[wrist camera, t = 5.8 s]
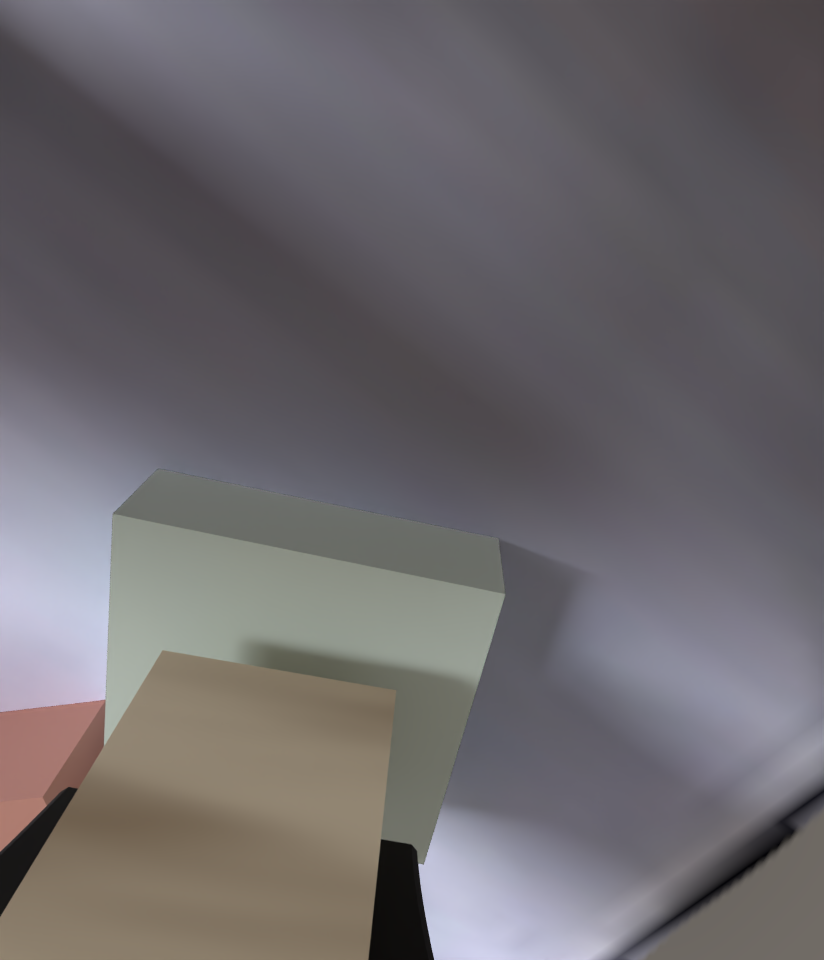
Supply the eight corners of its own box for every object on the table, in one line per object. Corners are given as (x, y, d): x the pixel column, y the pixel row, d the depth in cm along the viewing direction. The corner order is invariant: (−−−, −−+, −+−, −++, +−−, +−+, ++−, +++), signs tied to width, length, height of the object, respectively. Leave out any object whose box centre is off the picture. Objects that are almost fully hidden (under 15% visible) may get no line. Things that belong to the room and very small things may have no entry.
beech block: (362, 854, 14) (303, 1314, 8) (155, 820, 14) (-47, 1261, 8) (396, 690, 12) (351, 1123, 7) (162, 650, 12) (-85, 1054, 6)
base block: (427, 774, 18) (423, 864, 15) (147, 720, 17) (101, 803, 15) (497, 529, 15) (505, 594, 13) (165, 460, 15) (112, 514, 12)
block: (162, 817, 18) (111, 930, 16) (19, 831, 19) (-54, 943, 16) (108, 695, 17) (42, 797, 14) (-45, 713, 17) (-138, 815, 15)
